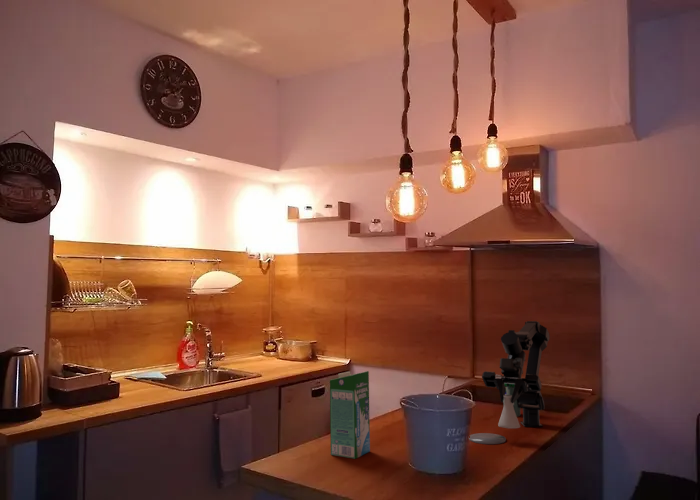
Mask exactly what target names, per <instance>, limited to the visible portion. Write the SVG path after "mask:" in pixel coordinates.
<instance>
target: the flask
mask: <svg viewBox="0 0 700 500" xmlns="http://www.w3.org/2000/svg"><path fill="white" fill-rule="evenodd" d="M503 397H504V400H503V408H502V411H501V415H500V418H499V421H498V423H497V425H498V427H499V428H505V429H519V428H521V423H520V421H519V419H518V417H517V416H516V413H515V411H514V407H513V403H511V399H512V395H503Z"/></svg>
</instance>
